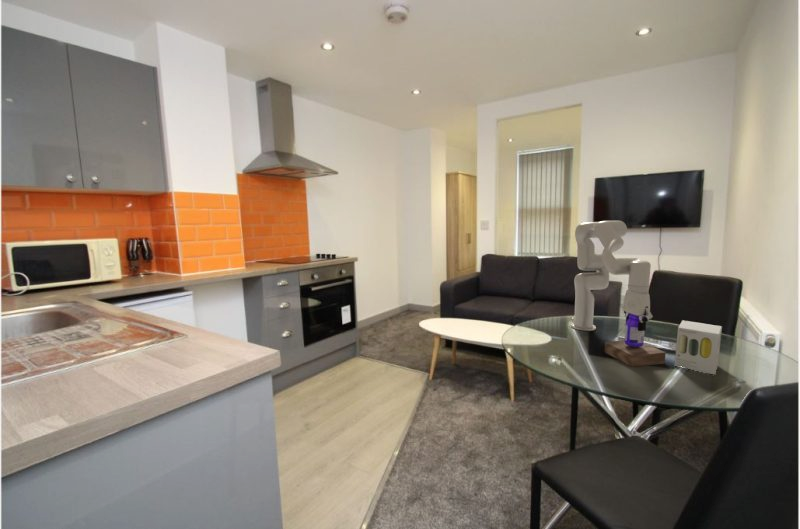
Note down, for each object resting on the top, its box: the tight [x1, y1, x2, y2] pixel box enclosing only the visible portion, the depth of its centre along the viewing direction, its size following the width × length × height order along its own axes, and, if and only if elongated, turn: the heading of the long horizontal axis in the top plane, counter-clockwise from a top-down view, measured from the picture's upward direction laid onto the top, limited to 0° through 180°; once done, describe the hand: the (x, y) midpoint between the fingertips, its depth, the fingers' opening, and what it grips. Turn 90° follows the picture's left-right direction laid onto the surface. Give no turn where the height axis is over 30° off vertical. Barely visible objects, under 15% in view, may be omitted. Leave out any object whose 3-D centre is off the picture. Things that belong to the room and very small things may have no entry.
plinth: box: [604, 340, 666, 368], centre depth 158 cm, size 16×16×5 cm
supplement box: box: [674, 319, 723, 375], centre depth 147 cm, size 13×13×18 cm
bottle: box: [623, 314, 646, 347], centre depth 156 cm, size 7×6×17 cm
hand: (635, 327), depth 156 cm, fingers open, 6 cm apart
